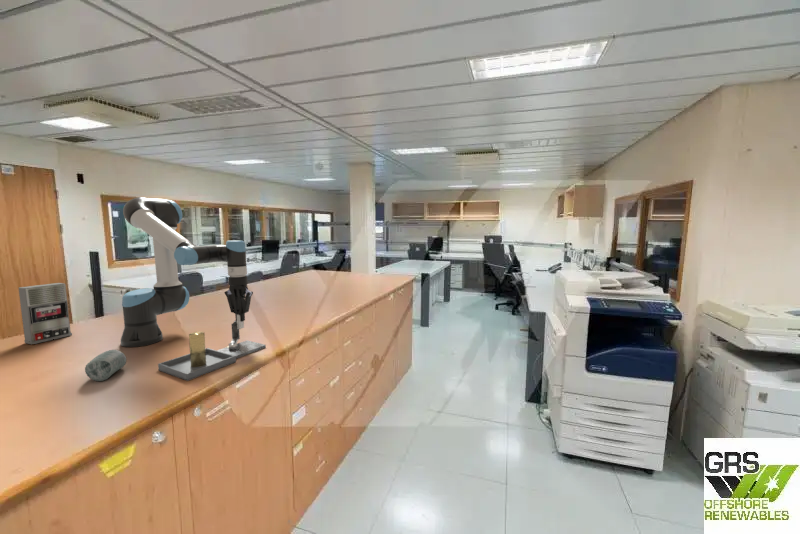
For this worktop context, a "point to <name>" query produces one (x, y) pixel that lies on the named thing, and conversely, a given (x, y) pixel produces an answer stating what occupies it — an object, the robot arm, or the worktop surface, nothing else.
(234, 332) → the crank lever
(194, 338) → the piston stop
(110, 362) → the spool
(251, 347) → the crank plate
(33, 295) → the cassette tape recorder
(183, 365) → the tray
